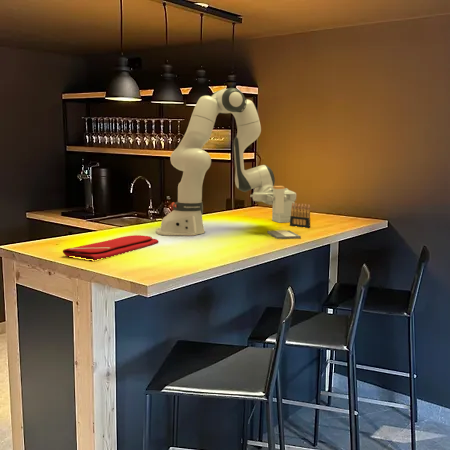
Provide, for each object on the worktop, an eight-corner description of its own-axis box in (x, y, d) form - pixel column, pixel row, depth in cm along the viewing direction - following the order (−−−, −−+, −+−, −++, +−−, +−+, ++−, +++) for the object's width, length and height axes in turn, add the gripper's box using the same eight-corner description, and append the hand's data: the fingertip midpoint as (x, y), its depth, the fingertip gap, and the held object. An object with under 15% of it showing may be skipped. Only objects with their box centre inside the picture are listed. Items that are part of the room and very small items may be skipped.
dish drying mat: (159, 244, 239) (159, 235, 238) (95, 263, 203) (95, 252, 202) (128, 240, 246) (128, 231, 245) (61, 258, 210) (61, 248, 209)
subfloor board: (277, 238, 253) (277, 236, 253) (267, 233, 268) (267, 230, 267) (300, 238, 256) (300, 236, 255) (289, 232, 270) (289, 230, 270)
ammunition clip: (289, 225, 290) (290, 202, 288) (291, 225, 292) (292, 202, 290) (308, 228, 284) (309, 204, 282) (310, 227, 286) (311, 203, 284)
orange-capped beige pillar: (275, 213, 257) (276, 186, 255) (272, 212, 260) (273, 185, 258) (283, 213, 257) (284, 186, 255) (280, 211, 261) (281, 185, 259)
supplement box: (294, 222, 302) (295, 194, 300) (279, 223, 299) (280, 194, 296) (286, 219, 310) (287, 192, 308) (271, 220, 307) (272, 192, 305)
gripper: (249, 188, 267) (257, 191, 254) (290, 188, 272) (300, 191, 259) (248, 202, 269) (256, 205, 255) (290, 201, 273) (300, 205, 260)
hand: (279, 198), depth 257 cm, fingers closed on orange-capped beige pillar, 4 cm apart
